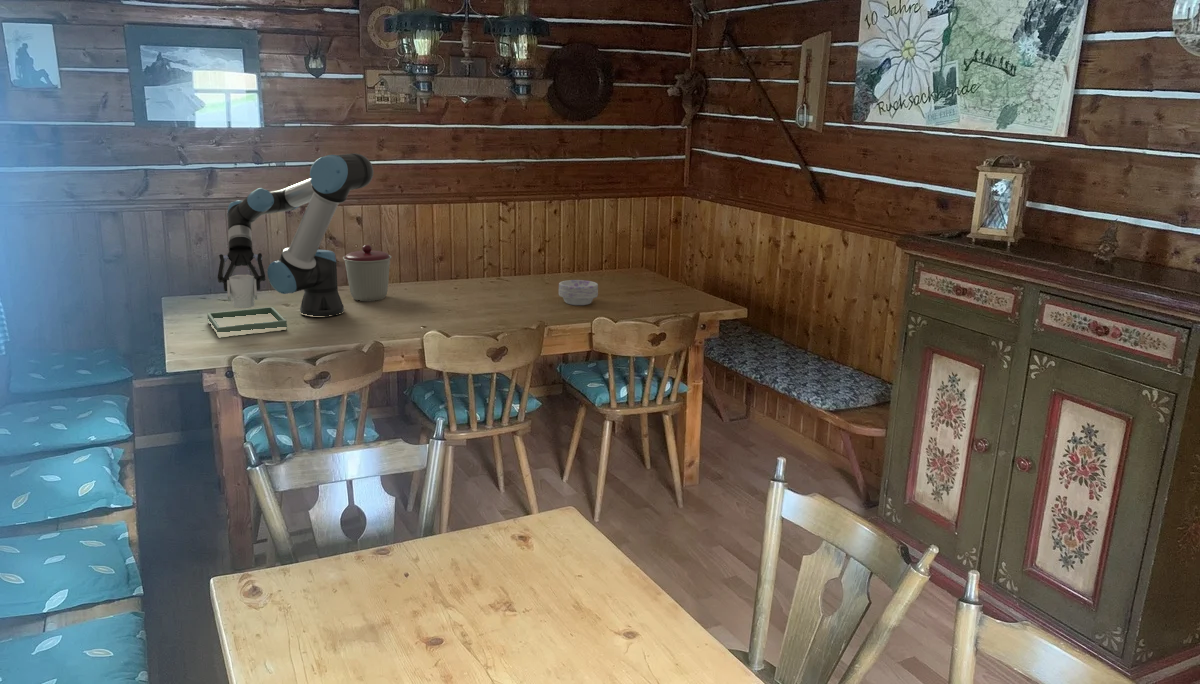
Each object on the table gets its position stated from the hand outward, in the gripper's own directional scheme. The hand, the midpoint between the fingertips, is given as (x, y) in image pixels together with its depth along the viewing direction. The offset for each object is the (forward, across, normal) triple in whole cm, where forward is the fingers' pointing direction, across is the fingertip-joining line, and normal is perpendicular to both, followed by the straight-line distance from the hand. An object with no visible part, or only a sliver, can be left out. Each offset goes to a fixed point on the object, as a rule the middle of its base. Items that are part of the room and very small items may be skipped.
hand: (242, 297), depth 306 cm
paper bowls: (0, -121, -14) cm, 122 cm away
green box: (+6, -1, -10) cm, 11 cm away
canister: (-17, -44, -33) cm, 57 cm away
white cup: (0, 0, -5) cm, 5 cm away
